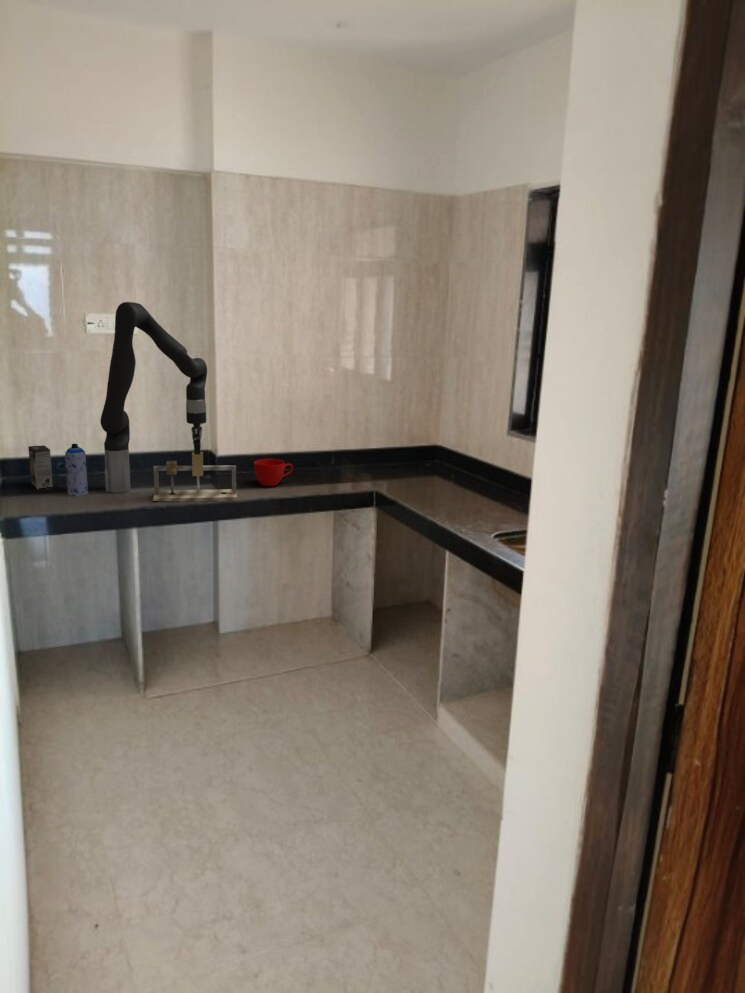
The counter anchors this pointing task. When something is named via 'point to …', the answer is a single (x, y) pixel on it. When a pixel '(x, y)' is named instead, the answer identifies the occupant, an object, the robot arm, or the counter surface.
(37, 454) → the coffee box
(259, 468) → the ceramic cup
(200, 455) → the trammel head
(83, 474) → the aerosol can
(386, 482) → the counter surface
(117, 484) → the robot arm
